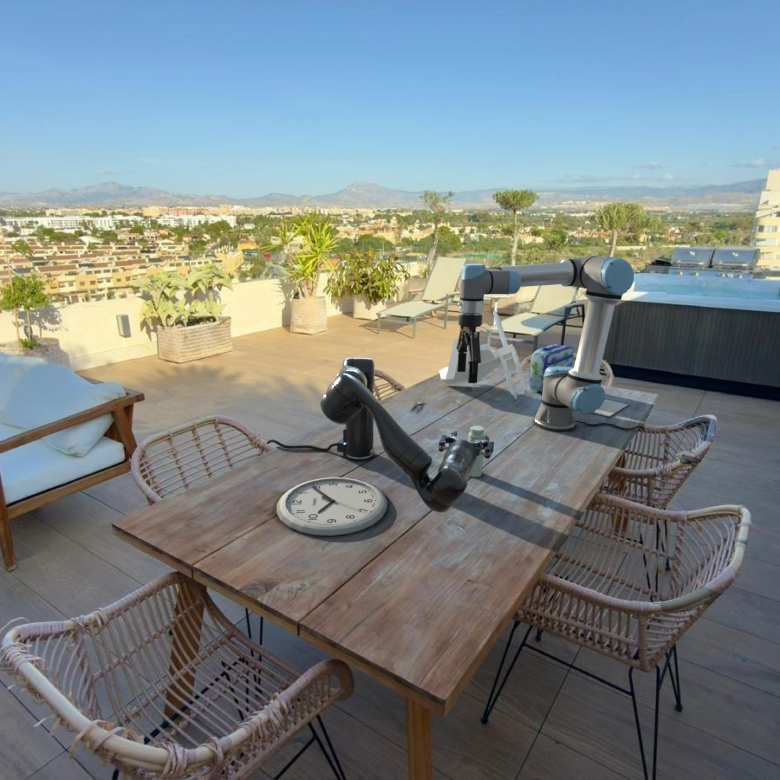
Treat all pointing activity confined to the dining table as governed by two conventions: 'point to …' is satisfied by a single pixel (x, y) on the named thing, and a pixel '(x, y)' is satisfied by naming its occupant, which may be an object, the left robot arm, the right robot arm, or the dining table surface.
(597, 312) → the right robot arm
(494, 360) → the white plastic object
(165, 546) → the dining table surface
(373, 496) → the wall clock
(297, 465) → the dining table surface
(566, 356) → the lunch box
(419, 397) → the fork
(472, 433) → the jar
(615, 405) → the invitation card
